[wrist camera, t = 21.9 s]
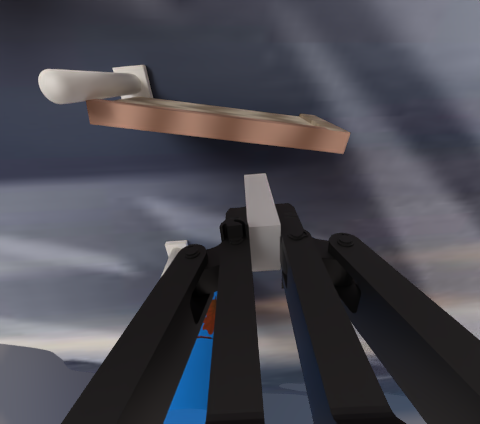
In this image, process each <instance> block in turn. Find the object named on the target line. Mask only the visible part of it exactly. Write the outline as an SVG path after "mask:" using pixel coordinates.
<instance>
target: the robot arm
mask: <svg viewBox="0 0 480 424" xmlns="http://www.w3.org/2000/svg"><path fill="white" fill-rule="evenodd" d="M244 182H245V196H246V207H241V208H230V209H229V210H228V211H227V213H226V220H225V221H224V222H222V223H221V225H220V233H221V240H222V243H221V244H219V245H218V246H216V247H214V248H211V249H207V250H206V248H205V247H204V246H202V245H198V244H192V245H189V246H186V247H184V248H182V249H181V250H180V251H179V252H178V254H177V255H176V256H175V258H174V259H173V261H172V262H171V264H170V265H169V267H168V268H167V270H166V271H165V273H164V274H163V275H162V277H161V278H160V280H159V281H158V283H157V284H156V286H155V287H154V289H153V290H152V292H151V293H150V294H149V296H148V297H147V299H146V300H145V302H144V303H143V305H142V306H141V308H140V309H139V311H138V312H137V313H136V315H135V316H134V318H133V319H132V321H131V322H130V324H129V325H128V327H127V328H126V330H125V331H124V332H123V334H122V335H121V337H120V338H119V340H118V341H117V343H116V344H115V346H114V347H113V348H112V350H111V351H110V353H109V354H108V356H107V357H106V359H105V360H104V362H103V363H102V365H101V366H100V367H99V369H98V370H97V372H96V373H95V375H94V376H93V378H92V379H91V381H90V382H89V384H88V385H87V386H86V388H85V390H84V391H83V392H82V394H81V396H80V397H79V398H78V400H77V401H76V403H75V404H74V405H73V407H72V408H71V410H70V411H69V413H68V414H67V416H66V417H65V419H64V420H63V422H62V423H61V424H163V423H164V420H165V418H166V415H167V413H168V410H169V408H170V405H171V403H172V400H173V397H174V395H175V392H176V390H177V387H178V385H179V382H180V380H181V377H182V375H183V372H184V370H185V367H186V365H187V362H188V360H189V357H190V355H191V352H192V349H193V347H194V344H195V342H196V339H197V337H198V334H199V332H200V329H201V327H202V324H203V322H204V319H205V317H206V314H207V312H208V309H209V307H210V304H211V301H212V299H213V296H214V292H216V291H217V300H216V311H215V323H214V334H213V345H212V357H211V368H210V379H209V390H208V402H207V413H206V422H205V424H265V423H264V411H263V398H262V386H261V373H260V361H259V349H258V337H257V324H256V312H255V300H254V287H253V275H252V272H255V271H269V270H281V267H282V288H284V289H285V294H286V299H287V303H288V308H289V312H290V317H291V321H292V326H293V331H294V335H295V340H296V344H297V349H298V353H299V358H300V363H301V367H302V372H303V376H304V381H305V385H306V390H307V395H308V399H309V404H310V408H311V412H312V417H313V421H314V424H406V423H405V422H403V421H402V420H400V419H399V418H397V417H396V416H395V415H394V413H393V412H392V410H391V408H390V406H389V404H388V402H387V400H386V398H385V396H384V393H383V391H382V389H381V387H380V385H379V382H378V380H377V378H376V376H375V374H374V372H373V369H372V367H371V365H370V363H369V361H368V358H367V356H366V354H365V352H364V350H363V348H362V345H361V343H360V341H359V339H358V337H357V335H356V332H355V330H354V328H353V326H352V324H353V325H354V326H355V328H356V329H357V331H358V332H359V333H360V335H361V336H362V337H363V339H364V340H365V341H366V343H367V344H368V345H369V347H370V348H371V349H372V351H373V352H374V353H375V355H376V356H377V357H378V359H379V360H380V361H381V363H382V364H383V365H384V367H385V368H386V369H387V371H388V372H389V373H390V375H391V376H392V377H393V379H394V380H395V381H396V383H397V384H398V385H399V387H400V388H401V389H402V391H403V392H404V393H405V395H406V396H407V397H408V399H409V400H410V401H411V403H412V404H413V405H414V407H415V408H416V409H417V411H418V412H419V414H420V415H421V416H422V418H423V419H424V420H425V422H426V423H427V424H480V340H479V339H478V338H476V337H475V336H474V335H473V334H472V333H470V332H469V331H468V330H467V329H466V328H464V327H463V326H462V325H461V324H460V323H459V322H457V321H456V320H455V319H454V318H453V317H451V316H450V315H449V314H448V313H447V312H445V311H444V310H443V309H442V308H441V307H439V306H438V305H437V304H436V303H435V302H433V301H432V300H431V299H430V298H429V297H428V296H426V295H425V294H424V293H423V292H422V291H420V290H419V289H418V288H417V287H416V286H414V285H413V284H412V283H411V282H410V281H408V280H407V279H406V278H405V277H404V276H402V275H401V274H400V273H399V272H398V271H397V270H395V269H394V268H393V267H392V266H391V265H389V264H388V263H387V262H386V261H385V260H383V259H382V258H381V257H380V256H379V255H377V254H376V253H375V252H374V251H373V250H371V249H370V248H369V247H368V246H367V245H366V244H364V243H363V242H362V241H361V240H360V239H358V238H357V237H355V236H353V235H350V234H347V233H336V234H334V235H332V236H331V237H330V238H329V241H327V240H320V239H315V238H312V237H311V234H310V233H309V232H308V231H306V230H304V229H303V227H302V224H301V222H300V220H299V218H298V215H297V213H296V211H295V208H294V207H293V206H292V205H290V204H289V203H285V204H274V200H273V197H272V194H271V190H270V187H269V183H268V180H267V176H266V173H263V174H250V175H244ZM351 322H352V324H351Z"/></svg>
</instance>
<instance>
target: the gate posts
mask: <svg viewBox="0 0 480 424" xmlns="http://www.w3.org/2000/svg"><path fill="white" fill-rule="evenodd" d="M113 72H114V73H113ZM113 72H95V71H77V70H59V69H45V70H43V71H42V72H41V73H40V75H39V78H38V83H39V87H40V89H41V91H42V93H43V94H44V95H45V96H46V97H47V98H48V99H49V100H50V101H52V102H54V103H57V104H67V103H74V102H81V101H86V100H90V99H103V98H110V97H117V96H121V99H126V98H132V97H138V96H139V97H147V98H153V95H152V91H151V87H150V82H149V78H148V74H147V70H146V65H136V66H126V67H116V68H113ZM186 246H188V242H187V240H182V241H168V242H166V243H165V247H166V250H167V253H168V257H169V258H168V261H167V263H166V266H165V268H164V271H163V273H162V275H163V274H164V273H165V271H166V270H167V268H168V267H169V265H170V264H171V262H172V261H173V259H174V258H175V256H176V255H177V254H178V252H179V251H180V250H181V249H182V248H184V247H186ZM161 277H162V276H161Z"/></svg>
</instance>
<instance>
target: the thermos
mask: <svg viewBox="0 0 480 424" xmlns="http://www.w3.org/2000/svg"><path fill="white" fill-rule="evenodd" d="M216 300H217V291H216V292H214V296H213V299H212V301H211V304H210V307H209V309H208V312H207V314H206V317H205V319H204V322H203V324H202V327H201V329H200V332H199V334H198V337H197V339H196V342H195V344H194V347H193V349H192V352H191V355H190V357H189V360H188V362H187V365H186V367H185V370H184V372H183V375H182V377H181V380H180V382H179V385H178V387H177V390H176V392H175V395H174V397H173V400H172V403H171V405H170V408H169V410H168V413H167V415H166V418H165V420H164V423H163V424H205V422H206V413H207V402H208V390H209V379H210V368H211V357H212V345H213V334H214V323H215V311H216Z"/></svg>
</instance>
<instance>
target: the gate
mask: <svg viewBox="0 0 480 424" xmlns="http://www.w3.org/2000/svg"><path fill="white" fill-rule="evenodd" d="M86 104H87V109H88V114H89V120H90V124H94V125H103V126H111V127H120V128H128V129H137V130H145V131H154V132H162V133H171V134H179V135H188V136H196V137H205V138H213V139H222V140H230V141H239V142H247V143H256V144H264V145H273V146H281V147H290V148H298V149H307V150H315V151H324V152H332V153H341V154H344V151H345V148H346V145H347V142H348V139H349V136H350V132H348V131H346V130H344V129H342V128H340V127H337V126H335V125H333V124H331V123H329V122H327V121H325V120H323V119H321V118H319V117H317V116H314V115H307V114H300V116H299V117H298V116H290V115H282V114H274V113H267V112H259V111H251V110H243V109H235V108H227V107H219V106H211V105H203V104H195V103H187V102H179V101H171V100H163V99H155V98H147V97H139V96H138V97H132V98H126V99H120V100H114V101H109V100H101V99H90V100H86Z"/></svg>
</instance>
